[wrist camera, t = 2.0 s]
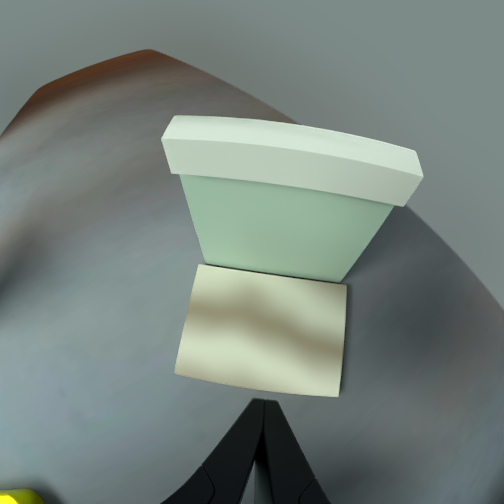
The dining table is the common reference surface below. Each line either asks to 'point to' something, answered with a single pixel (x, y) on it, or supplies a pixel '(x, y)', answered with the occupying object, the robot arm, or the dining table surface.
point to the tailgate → (286, 192)
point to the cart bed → (264, 332)
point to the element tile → (20, 497)
